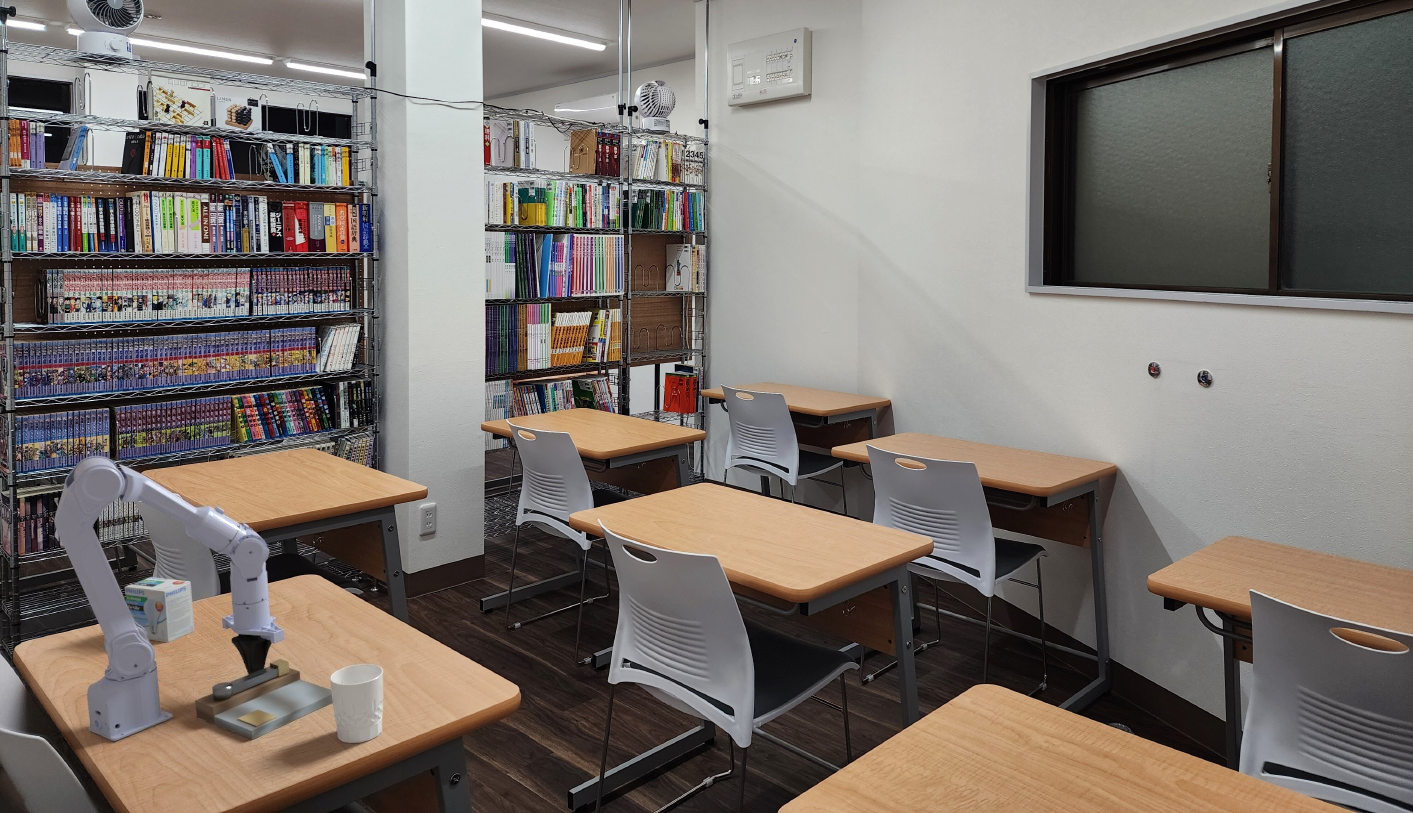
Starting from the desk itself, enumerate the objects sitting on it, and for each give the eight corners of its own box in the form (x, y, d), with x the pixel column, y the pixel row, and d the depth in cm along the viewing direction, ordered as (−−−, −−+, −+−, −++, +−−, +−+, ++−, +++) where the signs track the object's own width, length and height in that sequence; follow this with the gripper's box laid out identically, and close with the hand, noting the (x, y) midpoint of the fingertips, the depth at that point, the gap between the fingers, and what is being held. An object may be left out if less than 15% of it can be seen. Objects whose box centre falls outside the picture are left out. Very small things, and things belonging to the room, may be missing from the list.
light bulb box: (127, 637, 189) (122, 586, 187) (155, 625, 195) (151, 575, 194) (169, 643, 186) (164, 591, 184) (196, 630, 192) (192, 580, 191)
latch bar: (220, 701, 153) (219, 690, 152) (209, 697, 154) (208, 686, 154) (290, 672, 164) (289, 662, 163) (279, 669, 165) (278, 658, 165)
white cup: (334, 726, 151) (330, 667, 149) (385, 718, 153) (382, 660, 152) (333, 749, 143) (329, 688, 142) (387, 740, 146) (383, 680, 145)
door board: (252, 739, 146) (251, 721, 146) (196, 717, 154) (195, 699, 154) (338, 700, 160) (337, 683, 160) (283, 681, 168) (281, 665, 167)
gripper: (297, 599, 161) (302, 673, 163) (246, 585, 168) (251, 657, 170) (260, 611, 155) (266, 689, 157) (208, 597, 162) (214, 671, 164)
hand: (256, 673), depth 163 cm, fingers closed
